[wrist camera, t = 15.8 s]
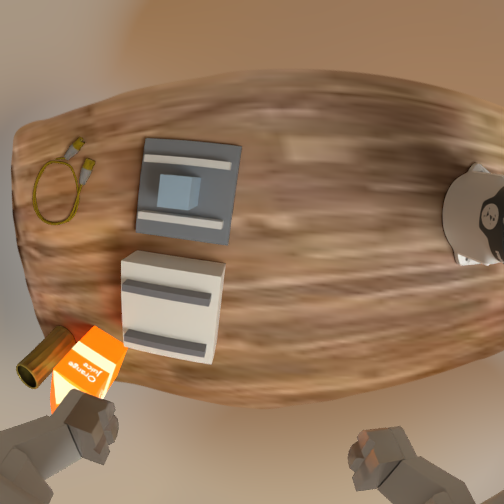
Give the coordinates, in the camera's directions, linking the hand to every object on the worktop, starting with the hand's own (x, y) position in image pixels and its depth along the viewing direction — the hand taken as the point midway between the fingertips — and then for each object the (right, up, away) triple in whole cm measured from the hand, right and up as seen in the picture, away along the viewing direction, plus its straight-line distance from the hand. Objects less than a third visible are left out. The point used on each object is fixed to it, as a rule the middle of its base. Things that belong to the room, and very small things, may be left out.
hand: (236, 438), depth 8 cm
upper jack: (-11, -2, +37) cm, 38 cm away
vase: (-37, -12, +40) cm, 56 cm away
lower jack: (-9, +15, +33) cm, 37 cm away
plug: (-9, +14, +32) cm, 36 cm away
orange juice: (-27, -13, +40) cm, 50 cm away
